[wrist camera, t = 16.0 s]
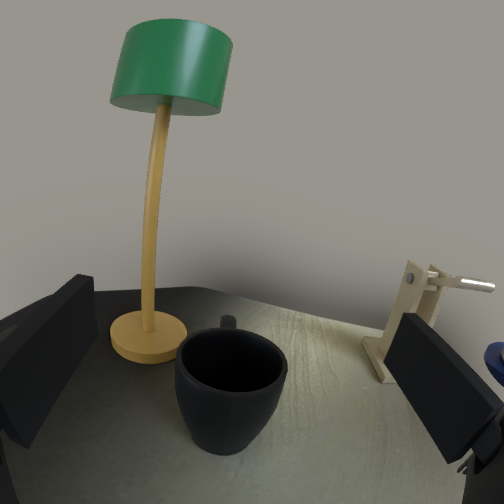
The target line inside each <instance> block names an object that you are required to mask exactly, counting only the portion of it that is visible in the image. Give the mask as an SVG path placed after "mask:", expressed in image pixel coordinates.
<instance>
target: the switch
mask: <svg viewBox="0 0 504 504" xmlns="http://www.w3.org/2000/svg"><path fill="white" fill-rule="evenodd" d="M428 272H429V275H428V278H427V281H426V285H425V288H424V290H429V291H437V286H443V287H453V288H454V287H455V288H461V289H469V290H475V291H482V292H490V293H491V292H492V291H494V288H495V286H494V283H493V282H491V281H485V280H480V279H474V278H469V277H463V276H457V277H456V278H440V277H438V276H439V273H437V272H431V271H428Z"/></svg>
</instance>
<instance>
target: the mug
mask: <svg viewBox="0 0 504 504" xmlns="http://www.w3.org/2000/svg"><path fill="white" fill-rule="evenodd" d="M287 372H288V365H287V360H286V358H285V355H284V354H283V352H282V351H281V350H280V349H279V347H277V346H276V345H275V344H274V343H273V342H271V341H270V340H268V339H266V338H264V337H262V336H260V335H258V334H255V333H253V332H249V331H245V330H241V329H236V319H235V317H233V316H231V315H223V316H222V317H221V322H220V328H210V329H205V330H201V331H198V332H195V333H193V334H191V335H189V336H188V337H186V338H185V339H184V340H183V341H182V342H181V343H180V345H179V347H178V349H177V351H176V358H175V388H176V394H177V400H178V403H179V407H180V410H181V414H182V417H183V419H184V422H185V424H186V426H187V428H188V430H189V431H190V433H191V435H192V438H193V440H194V441H195V443H196V444H197V445H198V446H199V447H200V448H202V449H203V450H205V451H207V452H209V453H212V454H216V455H232V454H236V453H238V452H240V451H242V450H243V449H245V448H246V447H247V446H248V444H249V443H250V442H251V441H252V440H253V439H254V438H255V437H256V436H257V435H258V434H259V433H260V431H261V430H262V429H263V428H264V426H265V425H266V424H267V422H268V421H269V419H270V418H271V416H272V414H273V412H274V411H275V409H276V407H277V404H278V401H279V398H280V395H281V392H282V389H283V385H284V382H285V379H286V375H287Z"/></svg>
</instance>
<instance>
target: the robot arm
mask: <svg viewBox="0 0 504 504" xmlns="http://www.w3.org/2000/svg"><path fill="white" fill-rule="evenodd" d="M97 336H98V327H97V318H96V308H95V296H94V280H93V277H91V276H86V275H81V274H77V275H76V276H74V277H73V278H72V279H71V280H69V281H68V282H67V283H66V284H65V285H63V286H62V287H61V288H60V289H59V290H57V291H56V292H55V293H54V294H53V295H52V296H50V297H49V298H48V299H47V300H46V301H45V302H44V303H42V304H41V305H40V306H39V307H38V308H37V309H36V310H35V311H33V312H32V313H31V314H30V315H29V316H28V317H27V318H26V319H25V320H24V321H23V322H21V323H20V324H19V325H18V326H17V325H13V326H11V327H9V328H7V329H5V330H3V331H2V332H1V333H0V431H1V429H2V428H3V430H4V431H5V433H6V434H7V436H8V438H9V439H10V440H11V441H13V442H15V443H17V444H19V445H21V446H23V447H24V448H26V449H28V450H29V448H30V446H31V444H32V442H33V440H34V438H35V437H36V435H37V433H38V431H39V429H40V427H41V426H42V424H43V422H44V420H45V419H46V417H47V415H48V413H49V412H50V410H51V408H52V407H53V405H54V403H55V401H56V400H57V398H58V396H59V395H60V393H61V392H62V390H63V388H64V387H65V385H66V383H67V382H68V380H69V379H70V377H71V375H72V374H73V372H74V371H75V369H76V368H77V366H78V365H79V363H80V362H81V360H82V358H83V357H84V355H85V354H86V352H87V351H88V349H89V348H90V346H91V345H92V344H93V342H94V341H95V339H96V338H97ZM500 360H501V363H502V365H503V366H504V348H503V349H502V351H501V353H500ZM383 363H384V364H385V366H386V367H387V369H388V370H389V372H390V373H391V375H392V376H393V378H394V379H395V381H396V382H397V384H398V385H399V387H400V388H401V390H402V391H403V393H404V395H405V396H406V398H407V399H408V401H409V402H410V404H411V405H412V407H413V408H414V410H415V412H416V413H417V415H418V416H419V418H420V419H421V421H422V423H423V424H424V426H425V427H426V429H427V431H428V432H429V434H430V435H431V437H432V439H433V440H434V442H435V444H436V445H437V447H438V449H439V450H440V452H441V454H442V455H443V457H444V459H445V460H446V462H447V464H450V463H452V462H455V461H457V460H459V459H461V458H462V457H463V456H464V455H465V454H466V453H467V452H468V451H469V449H470V448H472V450H473V451H474V452H473V453H472V454H471V456H470V457H469V458H468V459H467V460H466V461H465V462H464V463H463V464H462V465H461V466H460V467H459V468H458V471H457V472H458V473H459V472H460V471H461V470H462V469H463V468H464V467H465V466H468V467H467V468H466V469H465V470H464V471H463V473H462V474H466V475H467V476H466V483H465V489H464V495H463V500H462V504H504V403H503V402H502V401H501V400H500V398H499V397H498V396H497V395H496V394H495V393H494V392H493V391H492V389H491V388H490V387H489V386H488V385H487V384H486V383H485V382H484V381H483V380H482V379H481V378H480V377H479V375H478V374H477V373H476V372H475V371H474V370H473V369H472V368H471V367H470V366H469V365H468V364H467V363H466V362H465V361H464V360H463V359H462V358H461V357H460V356H459V355H458V354H457V353H456V352H455V351H454V350H453V349H452V348H451V347H450V346H449V345H448V344H447V343H446V342H445V341H444V340H443V339H442V338H441V337H440V336H439V335H438V334H437V333H436V332H435V331H434V330H433V329H432V328H431V327H430V326H429V325H428V324H427V323H426V322H425V321H424V320H423V319H422V318H420V317H419V316H418V315H417V314H416V313H404V312H403V315H402V317H401V320H400V323H399V325H398V328H397V330H396V333H395V335H394V338H393V340H392V342H391V345H390V347H389V349H388V352H387V354H386V356H385V358H384V361H383ZM0 504H19V501H18V499H17V496H16V493H15V490H14V487H13V483H12V480H11V477H10V473H9V470H8V466H7V462H6V458H5V453H4V449H3V444H2V441H1V438H0Z"/></svg>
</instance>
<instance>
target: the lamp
mask: <svg viewBox="0 0 504 504" xmlns="http://www.w3.org/2000/svg"><path fill="white" fill-rule="evenodd" d="M232 48H233V44H232V41H231V39H230V38H229V37H228V36H227V35H226V34H225V33H223V32H222V31H220V30H218V29H216V28H214V27H212V26H209V25H206V24H203V23H199V22H195V21H190V20H183V19H157V20H151V21H146V22H142V23H140V24H137V25H135V26H133V27H132V28H131V29H129V31H128V32H127V33H126V36H125V39H124V43H123V46H122V50H121V53H120V58H119V61H118V65H117V69H116V74H115V78H114V83H113V87H112V92H111V97H110V103H111V104H112V105H114V106H117V107H120V108H124V109H129V110H134V111H140V112H148V113H156V116H155V122H154V128H153V135H152V142H151V149H150V157H149V165H148V174H147V183H146V194H145V206H144V221H143V239H142V270H141V273H142V275H141V306H142V311H134V312H130V313H127V314H124V315H122V316H120V317H119V318H117V319H116V320H115V321H114V322H113V324H112V326H111V329H110V334H111V342H112V346H113V348H114V349H115V351H116V352H117V353H118V354H119V355H121V356H122V357H124V358H126V359H128V360H130V361H133V362H137V363H143V364H158V363H164V362H167V361H170V360H172V359H175V358H176V351H177V349H178V347H179V345H180V343H181V342H182V341H183V340H184V339H185V338H186V337H187V330H186V327H185V326H184V324H183V323H182V322H181V321H180V320H179V319H177V318H176V317H174V316H172V315H169V314H166V313H163V312H158V311H154V292H155V259H156V239H157V225H158V224H157V223H158V212H159V201H160V190H161V181H162V172H163V164H164V156H165V148H166V141H167V135H168V128H169V122H170V116H171V115H184V116H207V115H214V114H218V113H220V111H221V107H222V101H223V95H224V90H225V84H226V79H227V73H228V68H229V63H230V58H231V52H232Z"/></svg>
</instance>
